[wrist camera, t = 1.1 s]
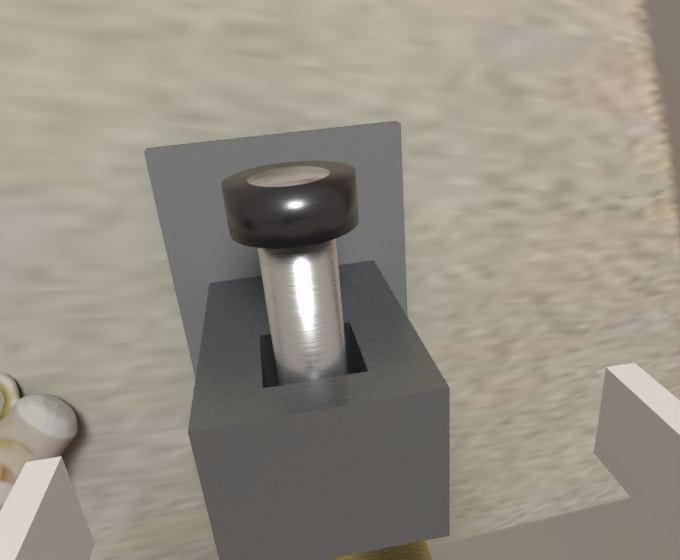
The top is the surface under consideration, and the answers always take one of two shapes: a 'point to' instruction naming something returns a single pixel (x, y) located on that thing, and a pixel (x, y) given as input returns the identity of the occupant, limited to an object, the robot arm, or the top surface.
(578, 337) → the top surface
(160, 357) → the top surface
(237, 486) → the bearing block
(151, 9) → the top surface
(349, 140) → the mat
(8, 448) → the mug
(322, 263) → the shaft
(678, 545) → the robot arm
